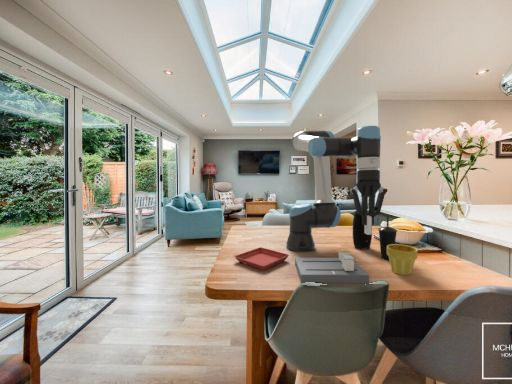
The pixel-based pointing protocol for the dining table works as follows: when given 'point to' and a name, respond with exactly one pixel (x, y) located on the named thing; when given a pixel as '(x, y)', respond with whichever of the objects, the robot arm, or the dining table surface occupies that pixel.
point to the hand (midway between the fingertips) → (367, 233)
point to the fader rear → (343, 252)
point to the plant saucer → (261, 258)
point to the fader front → (348, 262)
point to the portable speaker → (360, 233)
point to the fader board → (328, 271)
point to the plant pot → (402, 258)
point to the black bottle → (386, 239)
